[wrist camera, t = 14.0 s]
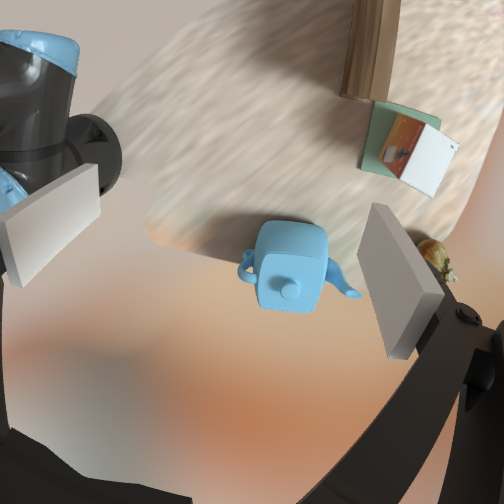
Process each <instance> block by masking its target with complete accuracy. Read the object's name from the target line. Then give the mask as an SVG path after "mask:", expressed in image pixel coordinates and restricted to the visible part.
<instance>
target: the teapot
mask: <svg viewBox="0 0 504 504" xmlns="http://www.w3.org/2000/svg"><path fill="white" fill-rule="evenodd" d="M242 258H243V260H244V261H243V262H242V263H241V264H240V265H239V267H238V276H239V278H240V279H241V280H243V281H245V282H247V283H252V284H254V285H255V291H256V296H257V300H258V303H259V306H260V307H262V308H265V309H270V310H278V311H287V312H300V313H310V312H312V311H313V310H314V308H315V306H316V304H317V301H318V299H319V296H320V293H321V290H322V287H323V284H324V281H327V282H329V283H331V284H333V285H334V286H336V287H337V288H338V290H339V291H340V292H341V293H343V294H344V295H346V296H348V297H351V298H361V297H362V294H361V293H360V292H358V291H356V290H355V289H353V288H352V287H350V286H349V284H348V283H347V281H346V279H345V277H344V274H343V271H342V269H341V268H340V266H339V265H338V264H337V263H336V262H335V261H334V260H332V259H330V258H328V239H327V234H326V232H325V230H324V229H323V228H322V227H319V226H317V225H313V224H307V223H301V222H292V221H280V220H271V221H267V222H266V223H264V224H263V225H262V227H261V229H260V231H259V234H258V237H257V241H256V245H255V250H252V249H248V250H245V251H244V252H243V254H242ZM251 265H253V273H249V272H246V271H245V270H246V269H248V268H249V267H250V266H251Z"/></svg>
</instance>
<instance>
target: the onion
mask: <svg viewBox="0 0 504 504" xmlns="http://www.w3.org/2000/svg"><path fill="white" fill-rule="evenodd" d="M416 248H417V249H418V251H419V252H420V254H421V255H422V257H423V259H424V260H428V261H429V262H430V263H431V264H432V265H434V266H435V267H436V268H437V270H438V271H439V273H440V275H441V276H442V277H441V278H443V279H444V281H445V283H447V281H448V282H449V280H450V279H451V280H452V281H453V282H455V280H458V276H457V274H456V273H455V272H454V270H453V269H449V270H447V269H448V264H449V263H450V262H449V258H448V256H447V253H446V250H445V248H444V246H443V244H442V243H440V242H439V241H437V240H435V239H426V240H423V241H422V242H420V243H419V244H418V246H417V247H416Z"/></svg>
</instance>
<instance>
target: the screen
mask: <svg viewBox="0 0 504 504" xmlns="http://www.w3.org/2000/svg"><path fill="white" fill-rule="evenodd" d="M400 5H401V0H354V8H353V16H352V23H351V31H350V38H349V45H348V51H347V58H346V64H345V71H344V77H343V83H342V89H341V95H340V97H344V98H349V99H353V100H357V101H361V102H362V99H363V98H364V99H368V100H373V101H377V102H382V103H386V101H387V96H388V90H389V85H390V79H391V73H392V67H393V61H394V54H395V47H396V40H397V32H398V24H399V15H400Z"/></svg>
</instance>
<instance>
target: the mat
mask: <svg viewBox="0 0 504 504" xmlns="http://www.w3.org/2000/svg"><path fill="white" fill-rule="evenodd" d="M398 112H399V113H402V114H405V115H407V116H410V117H413V118H415V119H418V120H421V121H423V122H426V123H427V124H429V125H431V126H432V127H434V128H435V129H437V130H439V129H440V125H441V119H438V118H436V117H433V116H430V115H427V114H424V113H421V112H419V111H416V110H413V109H409V108H406V107H403V106H400V105H397V104H393V103H390V102H386V103H382V102H377V101H374V106H373V111H372V116H371V121H370V126H369V131H368V135H367V140H366V145H365V149H364V154H363V158H362V162H361V167H360V170H363V171H367V172H372V173H376V174H380V175H384V176H388V177H392V178H396V179H398V178H397V177H396V176H395V175H394V174H393V173H392V172H391V171H390V170H388V169H387V168H386V167H385V166H384V165H383V164H382V163H381V162H380V161H379V160H378V159H377V157H378V155H379V153H380V151H381V149H382V146H383V144H384V142H385V140H386V138H387V136H388V134H389V132H390V130H391V127H392V125H393V123H394V121H395V118H396V116H397V113H398Z"/></svg>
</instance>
